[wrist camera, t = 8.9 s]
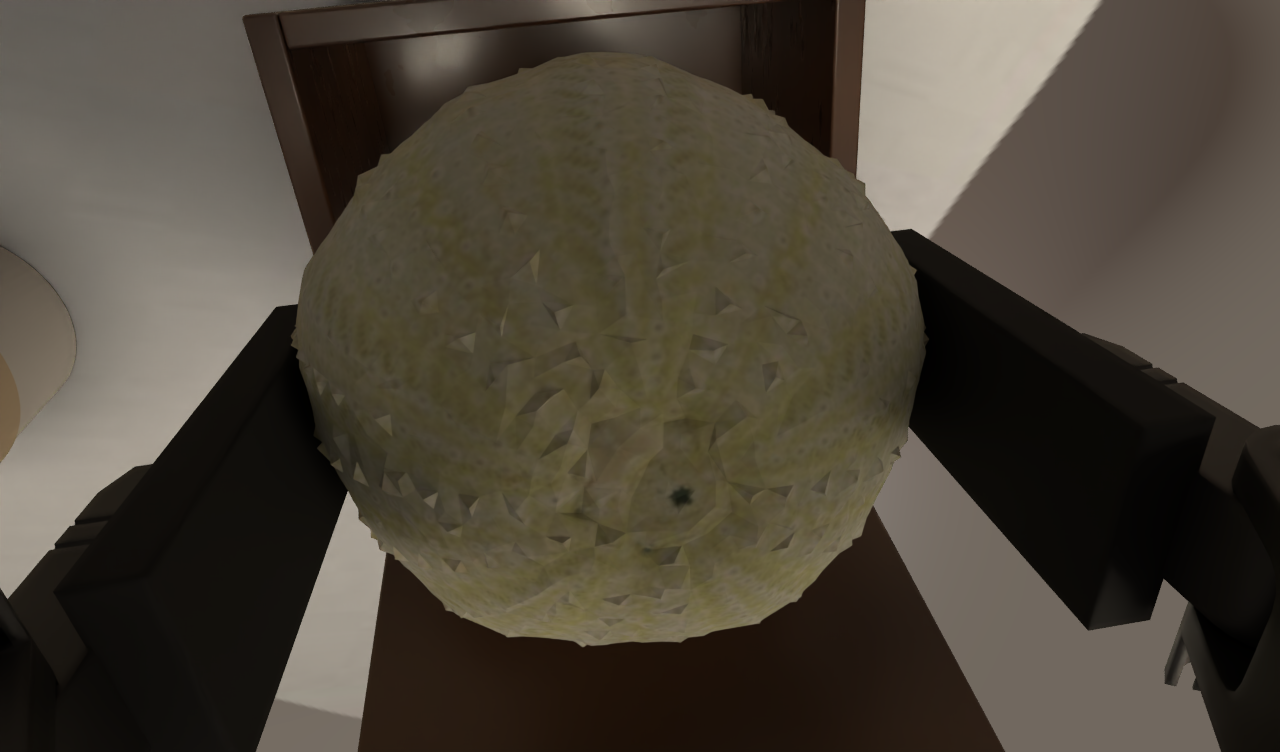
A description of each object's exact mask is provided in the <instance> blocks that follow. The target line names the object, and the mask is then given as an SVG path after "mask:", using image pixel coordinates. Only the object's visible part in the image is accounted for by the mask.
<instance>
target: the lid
mask: <svg viewBox="0 0 1280 752" xmlns="http://www.w3.org/2000/svg"><path fill="white" fill-rule="evenodd" d="M358 752H1005V751H1004V749H1003V747H1002V745H1001V743H1000V741H999V740H998V738H997V736H996V734H995V732H994V730H993V728H992V727H991V725H990V723H989V721H988V719H987V717H986V715H985V713H984V711H983V710H982V708H981V706H980V704H979V702H978V700H977V698H976V697H975V695H974V693H973V691H972V689H971V687H970V685H969V683H968V682H967V680H966V678H965V676H964V674H963V672H962V670H961V669H960V667H959V665H958V663H957V661H956V659H955V657H954V655H953V654H952V652H951V650H950V648H949V646H948V644H947V642H946V641H945V639H944V637H943V635H942V633H941V631H940V630H939V628H938V626H937V624H936V622H935V620H934V618H933V616H932V615H931V613H930V611H929V609H928V607H927V605H926V603H925V601H924V600H923V598H922V596H921V594H920V592H919V590H918V588H917V586H916V585H915V583H914V581H913V579H912V577H911V575H910V573H909V572H908V570H907V568H906V566H905V564H904V562H903V560H902V559H901V557H900V555H899V553H898V551H897V549H896V547H895V545H894V544H893V542H892V540H891V538H890V536H889V534H888V532H887V530H886V529H885V527H884V525H883V523H882V522H881V519H880V517H879V516H878V514H877V512H876V510H875V508H874V506H872V508H871V511H870V513H869V514H868V516H867V518H866V522H865V525H864V528H863V532H862V535H861V536H860V537H858V538H855V539H853V540H852V546H851V547H849V548H847V549H846V550H844V551H842V552H841V553H839V554H838V555H837V556H836V557H835V558H834V559H833V560H832V561H831V562H830V563H829V564H828V566H827V567H826V568H825V569H824V570H823V571H822V572H821V573H820V575H819V576H818V577H817V579H816V580H815V581H814V582H813V583H812V584H811V585H810V586H808V587H807V588H806V589H805V590H804V591H803V593H802V597H800V598H799V599H798V600H797V602H790V603H788V604H787V605H785V606H784V607H782V608H781V609H779V610H777V611H776V612H774V613H772V614H771V615H769V616H768V617H766V618H764V619H763V620H761V622H760V624H752V625H746V626H741V627H735V628H729V629H723V630H718V631H713V632H710V633H708V634H706V635H704V636H698V637H688V638H687V639H685V640H684V641H682V642H681V643H679V642H663V641H662V642H643V643H642V642H634V641H632V642H623V643H613V644H608V645H595V646H590V645H586V646H584V647H582V646H580V645H579V644H578V643H576V642H574V641H569V640H561V639H551V638H541V637H525V636H518V637H506V636H505V635H503V634H501V633H499V632H496V631H494V630H492V629H490V628H487V627H485V626H483V625H480V624H478V623H475V622H473V621H471V620H468V619H466V618H464V617H463V618H460V616H459V615H456V614H455V613H454V612H452V611H446V610H445V608H444V605H443V602H442V601H440V600H439V599H438V598H437V597H436V596H435V595H433V594H432V593H431V592H430V591H429V590H428V588H427V587H426V586H425V585H424V584H423V583H422V582H421V581H420V580H419V579H418V578H417V577H416V576H415V575H414V574H413V573H412V572H411V571H410V570H409V569H407V568H406V567H405V566H404V565H403V564H402V563H401V562H400V561H399V560H395V556H394V555H393V554H390V553H387V552H386V559H385V565H384V572H383V579H382V586H381V593H380V600H379V607H378V614H377V621H376V628H375V635H374V642H373V649H372V655H371V662H370V669H369V676H368V683H367V690H366V697H365V704H364V711H363V718H362V725H361V732H360V739H359V746H358Z"/></svg>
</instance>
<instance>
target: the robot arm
mask: <svg viewBox="0 0 1280 752" xmlns="http://www.w3.org/2000/svg"><path fill="white" fill-rule="evenodd" d="M891 234H892V235H893V237H894V239H895V240H896V242H897V243H898V244H899V246H900V247H901V249H902V251H903V253H904V255H905V257H906V259H907V260H908V263H909V265H910V266H911V267H913V268H914V269H916V270H917V271H916V273H915V275H914V276H915V279H916V281H917V287H918V297H919V301H920V305H921V309H922V314H923V319H924V324H925V326H926V329H925V331H924V333H925V334H926V335H927V337H928V338H929V341H928V342H927V344H926V346H925V349H926V355H925V359H924V363H923V367H922V371H921V375H920V379H919V383H918V385H917V389H916V393H915V399H914V404H913V409H912V412H911V415H910V419H909V424H910V425H909V427H910V429H911V430H912V431H913V432H914V433H915V434H916V435H917V436H918V438H919V439H920V440H921V441H922V442H923V443H924V444H925V445H926V447H927V448H928V449H929V450H930V451H931V452H932V453H933V455H934V456H935V457H936V458H937V459H938V460H939V461H940V463H941V464H942V465H943V466H944V467H945V468H946V469H947V471H948V472H949V473H950V474H951V475H952V476H953V477H954V479H955V480H956V481H957V482H958V483H959V484H960V485H961V486H962V488H963V489H964V490H965V491H966V492H967V493H968V494H969V496H970V497H971V498H972V499H973V500H974V501H975V502H976V504H977V505H978V506H979V507H980V508H981V509H982V510H983V511H984V513H985V514H986V515H987V516H988V517H989V518H990V519H991V521H992V522H993V523H994V524H995V525H996V526H997V527H998V529H1000V531H1001V532H1002V533H1003V534H1004V535H1005V537H1006V538H1007V539H1008V540H1009V541H1010V542H1011V543H1012V544H1013V546H1014V547H1015V548H1016V549H1017V550H1018V551H1019V552H1020V554H1021V555H1022V556H1023V557H1024V558H1025V559H1026V560H1027V561H1028V563H1029V564H1030V565H1031V566H1032V567H1033V568H1034V569H1035V571H1036V572H1037V573H1038V574H1039V575H1040V576H1041V577H1042V579H1043V580H1044V581H1045V582H1046V583H1047V584H1048V585H1049V587H1050V588H1051V589H1052V590H1053V591H1054V592H1055V593H1056V594H1057V595H1058V597H1059V598H1060V599H1061V600H1062V601H1063V602H1064V604H1065V605H1066V606H1067V607H1068V608H1069V609H1070V610H1071V611H1072V613H1073V614H1074V615H1075V616H1076V617H1077V618H1078V620H1079V621H1080V622H1081V623H1082V624H1083V625H1084V626H1085V627H1086V629H1087V630H1094V629H1100V628H1106V627H1112V626H1117V625H1123V624H1129V623H1135V622H1140V621H1146V620H1150V618H1151V615H1152V612H1153V609H1154V606H1155V603H1156V600H1157V597H1158V594H1159V590H1160V588H1161V584H1162V582H1163V579H1165V580H1166V581H1167V582H1168V583H1169V584H1170V585H1171V586H1172V587H1173V588H1174V589H1176V590H1177V591H1178V592H1179V593H1180V594H1181V595H1182V596H1183V597H1184V598H1185V599H1186V600H1188V601H1189V602H1188V605H1187V607H1186V610H1185V613H1184V616H1183V619H1182V621H1181V624H1180V627H1179V630H1178V633H1177V635H1176V638H1175V641H1174V644H1173V647H1172V650H1171V652H1170V655H1169V658H1168V661H1167V664H1166V666H1165V684H1168V685H1173V686H1176V685H1177V683H1178V680H1179V677H1180V674H1181V672H1182V669H1183V666H1185V665H1186V664H1187V663H1190V662H1191V664H1192V667H1193V670H1194V673H1195V676H1196V679H1195V681H1194V684H1193V690H1198V691H1201V694H1202V697H1203V699H1204V703H1205V705H1206V708H1207V711H1208V714H1209V717H1210V720H1211V723H1212V726H1213V729H1214V732H1215V735H1216V738H1217V741H1218V743H1219V746H1220V749H1221V752H1280V425H1274V426H1270V427H1265V428H1261V429H1260V428H1259V427H1257V426H1255V425H1254V424H1252V423H1250V422H1249V421H1247V420H1245V419H1244V418H1242V417H1240V416H1239V415H1237V414H1235V413H1233V412H1232V411H1230V410H1229V409H1227V408H1225V407H1224V406H1221V405H1220V404H1219V403H1217V402H1215V401H1213V400H1212V399H1210V398H1208V397H1207V396H1205V395H1203V394H1202V393H1200V392H1198V391H1197V390H1195V389H1193V388H1192V387H1190V386H1188V385H1187V384H1185V383H1177V379H1176V378H1175V377H1173V376H1172V375H1170V374H1168V373H1166V372H1165V371H1163V370H1161V369H1160V368H1153V367H1152V364H1151V363H1150V362H1148V361H1146V360H1145V359H1143V358H1141V357H1139V356H1138V355H1136V354H1135V353H1133V352H1131V351H1129V350H1128V349H1126V348H1124V347H1123V346H1120V345H1117V344H1114V343H1111V342H1108V341H1105V340H1102V339H1099V338H1096V337H1093V336H1090V335H1088V334H1085V333H1082V334H1081V333H1079V332H1077V331H1076V330H1074V329H1073V328H1071V327H1070V326H1067V325H1066V324H1065V323H1063V322H1061V321H1060V320H1058V319H1056V318H1055V317H1053V316H1052V315H1050V314H1048V313H1047V312H1045V311H1044V310H1042V309H1040V308H1039V307H1037V306H1035V305H1034V304H1032V303H1031V302H1029V301H1027V300H1025V299H1024V298H1023V297H1021V296H1019V295H1018V294H1016V293H1014V292H1013V291H1011V290H1010V289H1008V288H1006V287H1005V286H1003V285H1001V284H1000V283H998V282H996V281H995V280H993V279H992V278H990V277H988V276H987V275H985V274H983V273H982V272H980V271H979V270H977V269H976V268H974V267H972V266H970V265H969V264H967V263H966V262H964V261H962V260H961V259H959V258H958V257H956V256H954V255H953V254H951V253H950V252H948V251H946V250H945V249H943V248H942V247H940V246H938V245H937V244H935V243H933V242H931V241H930V240H929V239H927V238H925V237H924V236H922V235H920V234H919V233H917V232H916V231H914V230H912V229H907V230H899V231H891ZM297 310H298V304H296V305H288V306H280V307H276V308H275V309H274V310H273V312H272V313H271V314H270V315H269V317H268V318H267V319H266V321H265V322H264V323H263V324H262V326H261V327H260V328H259V329H258V331H257V332H256V333H255V335H254V336H253V337H252V338H251V340H250V341H249V342H248V343H247V345H246V346H245V347H244V349H243V350H242V351H241V352H240V354H239V355H238V356H237V357H236V359H235V360H234V361H233V363H232V364H231V365H230V366H229V368H228V369H227V370H226V371H225V373H224V374H223V375H222V377H221V378H220V379H219V380H218V382H217V383H216V384H215V386H214V387H213V388H212V389H211V391H210V392H209V393H208V394H207V396H206V397H205V398H204V400H203V401H202V402H201V403H200V405H199V406H198V407H197V408H196V410H195V411H194V412H193V414H192V415H191V416H190V417H189V419H188V420H187V421H186V422H185V424H184V425H183V426H182V428H181V429H180V430H179V431H178V433H177V434H176V435H175V436H174V438H173V439H172V440H171V442H170V443H169V444H168V445H167V447H166V448H165V449H164V451H163V452H162V453H161V454H160V456H159V457H158V458H157V459H156V461H155V462H154V463H153V464H151V465H143V466H136V467H134V468H132V469H131V470H130V471H128V472H127V473H125V474H124V475H122V476H121V477H120V478H118V479H117V480H115V481H114V482H113V483H111V484H110V485H108V486H107V487H105V488H104V489H103V490H101V491H100V492H98V493H97V495H96V496H95V497H94V498H93V499H92V501H91V502H90V503H89V504H88V505H87V506H86V508H85V509H84V510H83V511H82V512H81V513H80V515H79V516H78V517H77V518H76V519H75V526H69V528H68V529H67V530H66V531H65V532H64V534H63V535H62V536H61V537H60V538H59V539H58V541H57V542H56V543H55V549H54V550H49V551H48V552H47V554H46V555H45V556H44V557H43V558H42V559H41V561H40V562H39V563H38V564H37V565H36V566H35V568H34V569H33V570H32V571H31V572H30V574H29V575H28V576H27V577H26V578H25V579H24V581H23V582H22V583H21V584H20V585H19V587H18V588H17V589H16V590H15V591H14V592H13V594H12V595H11V596H10V597H9V598H8V599H7V598H6V596H5V595H4V593H3V592H2V590H1V589H0V752H256V749H257V746H258V744H259V741H260V738H261V735H262V732H263V729H264V727H265V724H266V721H267V718H268V715H269V712H270V709H271V707H272V704H273V701H274V698H275V695H276V693H277V690H278V687H279V684H280V681H281V678H282V676H283V673H284V670H285V667H286V664H287V661H288V659H289V656H290V653H291V650H292V647H293V644H294V642H295V639H296V636H297V633H298V630H299V627H300V625H301V622H302V619H303V616H304V613H305V610H306V608H307V605H308V602H309V599H310V596H311V593H312V591H313V588H314V585H315V582H316V579H317V576H318V574H319V571H320V568H321V565H322V562H323V559H324V557H325V554H326V551H327V548H328V545H329V542H330V540H331V537H332V534H333V531H334V528H335V525H336V523H337V520H338V517H339V514H340V511H341V508H342V506H343V503H344V500H345V497H346V494H347V491H348V490H347V488H346V487H345V485H344V484H343V482H342V481H341V479H340V477H339V476H338V474H337V472H336V470H335V468H334V467H333V466H332V465H330V461H329V460H328V459H327V458H326V457H325V456H324V455H323V454H322V453H321V452H320V451H319V450H318V449H317V448H318V446H319V445H320V444H321V443H322V442H321V441H320V440H319V439H317V438H316V437H314V436H313V435H314V430H315V422H314V416H313V410H312V406H311V402H310V399H309V395H308V391H307V387H306V385H305V382H304V379H303V377H302V374H301V371H300V368H299V359H297V358H296V355H297V353H298V349H296V348H294V347H293V346H291V344H292V342H293V339H292V338H291V335H292V333H293V332H294V330H295V329H296V327H295V325H296V318H297Z"/></svg>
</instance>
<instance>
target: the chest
mask: <svg viewBox="0 0 1280 752" xmlns="http://www.w3.org/2000/svg"><path fill="white" fill-rule="evenodd" d="M865 2H866V0H388V1H378V2H367V3H356V4H346V5H335V6H326V7H316V8H307V9H297V10H288V11H278V12H268V13H259V14H249V15H244V16H243V18H242V20H243V24H244V27H245V30H246V34H247V37H248V40H249V44H250V47H251V50H252V53H253V57H254V60H255V63H256V67H257V70H258V73H259V77H260V80H261V83H262V87H263V90H264V93H265V97H266V100H267V103H268V106H269V110H270V113H271V116H272V120H273V123H274V126H275V130H276V133H277V136H278V140H279V143H280V146H281V149H282V153H283V156H284V159H285V163H286V166H287V169H288V173H289V176H290V179H291V183H292V186H293V189H294V193H295V196H296V199H297V202H298V206H299V209H300V212H301V216H302V219H303V222H304V226H305V229H306V232H307V236H308V239H309V242H310V246H311V249H312V252H313V255H314V254H315V252H316V251H317V249H318V248H319V246H320V245H321V243H322V242H323V241H324V240H325V238H326V237H327V236H328V234H329V233H330V231H331V230H332V228H333V226H334V225H335V223H336V221H337V220H338V218H339V217H340V216H341V214H342V213H343V211H344V210H345V208H346V206H347V205H348V203H349V202H350V200H351V199H352V197H353V196H354V193H355V188H356V186H357V179H358V175H360V174H362V173H364V172H367V171H369V170H371V169H373V168H375V167H377V166H378V163H379V160H380V157H381V155H383V154H391V153H392V152H393V151H394V150H395V149H396V148H397V147H398V146H399V145H400V144H401V143H402V142H404V141H405V140H406V139H408V138H409V137H411V136H412V135H413V134H414V133H415V132H416V131H417V130H418V129H419V128H420V127H421V126H422V125H423V124H424V123H425V122H427V121H428V120H429V119H431V117H432V116H433V115H434V114H435V113H436V112H437V111H438V110H439V109H440V108H441V107H442V106H443V104H444V103H446V102H448V101H450V100H452V99H454V98H456V97H458V96H460V95H462V94H463V93H464V91H465V90H466V88H467V87H469V86H474V85H480V84H485V83H490V82H493V81H497V80H500V79H503V78H506V77H509V76H512V75H515V74H518V71H519V68H535V67H537V66H539V65H541V64H543V63H546V62H548V61H550V60H552V59H555V58H557V57H566V56H570V55H575V54H579V53H585V52H615V53H629V54H637V55H646V56H653V57H655V58H656V59H658V60H660V61H663V62H666V63H668V64H670V65H673V66H675V67H677V68H679V69H682V70H684V71H686V72H688V73H691V74H693V75H695V76H698V77H701V78H704V79H707V80H710V81H712V82H715V83H717V84H720V85H722V86H725V87H727V88H729V89H731V90H733V91H735V92H737V93H739V94H741V95H747V94H752V96H753V99H763V100H764V102H765V104H766V106H767V108H768V110H773V111H775V115H777V116H780V117H784V118H785V119H786V122H787V124H788V126H789V127H790V128H791V129H792V130H794V131H795V132H796V133H797V134H798V135H799V136H800V137H802V138H803V139H804V140H805V141H807V142H808V143H809V144H811V145H812V146H814V147H815V148H816V149H817V150H819V151H820V152H821V153H822V154H823V155H824V156H827V157H829V158H835V159H837V160H838V161H839V162H840V164H841V165H842V167H843V168H844V169H845V170H847V171H848V172H851V173H853V174H854V176H855V179H856V170H857V151H858V132H859V114H860V95H861V77H862V58H863V39H864V21H865Z"/></svg>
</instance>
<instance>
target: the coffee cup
mask: <svg viewBox="0 0 1280 752" xmlns="http://www.w3.org/2000/svg"><path fill="white" fill-rule="evenodd" d="M75 357H76V336H75V331H74V327H73V323H72V321H71V318H70V315H69V313H68V311H67V309H66V307H65V305H64V304H63V302H62V300H61V299H60V297H59V296H58V294H57V293H56V292H55V290H54V289H53V288H52V287H51V285H50V284H49V283H48V282H47V281H46V280H45V279H44V278H43V277H42V276H41V275H40V274H39V273H38V272H37V271H36V270H35V269H34V268H32V267H31V266H30V265H29V264H27V263H26V262H25V261H23V260H22V259H20V258H19V257H18V256H16V255H14V254H13V253H11V252H9V251H8V250H6V249H4V248H2V247H0V463H1V461H2V460H3V459H4V458H5V456H6V455H7V454H8V452H9V451H10V449H11V447H12V445H13V443H14V441H15V439H16V437H17V436H18V435H19V434H20V433H21V432H22V431H23V430H24V428H25V427H26V426H27V425H28V424H29V423H30V422H31V421H32V419H33V418H34V417H35V416H36V415H37V414H38V413H39V412H40V410H41V409H42V408H43V407H44V406H45V405H46V404H47V403H48V401H49V400H50V399H51V398H52V397H53V396H54V395H55V394H56V393H57V391H58V390H59V389H60V388H61V387H62V386H63V385H64V383H65V382H66V380H67V379H68V377H69V375H70V373H71V371H72V368H73V365H74V362H75Z"/></svg>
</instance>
